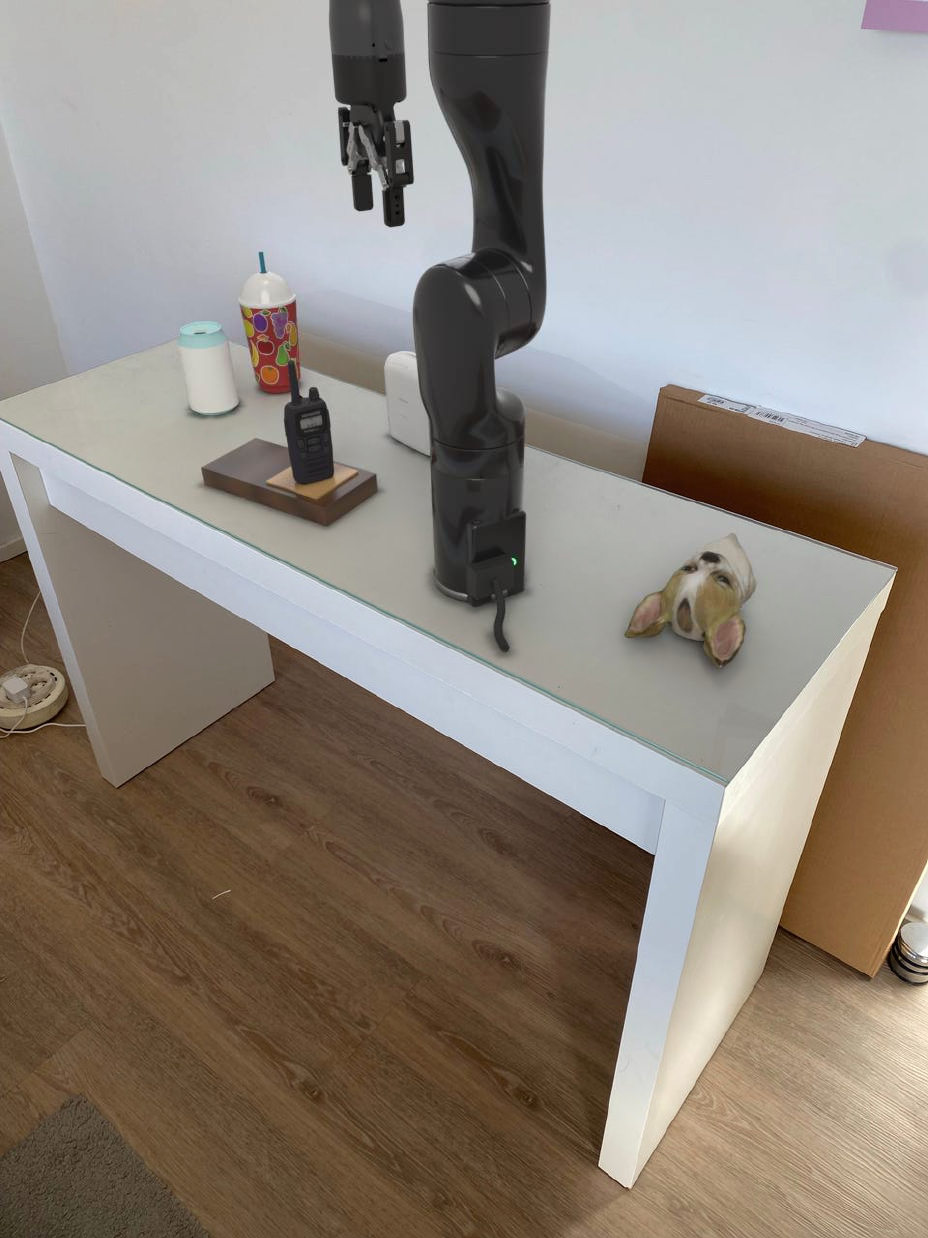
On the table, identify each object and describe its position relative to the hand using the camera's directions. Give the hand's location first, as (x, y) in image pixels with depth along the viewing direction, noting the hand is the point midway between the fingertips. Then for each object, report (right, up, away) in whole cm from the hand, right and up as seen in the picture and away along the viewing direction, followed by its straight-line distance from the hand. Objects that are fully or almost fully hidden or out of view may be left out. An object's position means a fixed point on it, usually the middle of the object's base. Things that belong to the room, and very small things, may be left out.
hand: (378, 217), depth 102 cm
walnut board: (-12, -29, +12) cm, 34 cm away
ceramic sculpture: (+33, -46, -13) cm, 58 cm away
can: (-27, -14, +33) cm, 45 cm away
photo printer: (+3, -21, +22) cm, 31 cm away
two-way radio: (-9, -28, +9) cm, 31 cm away
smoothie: (-19, -9, +39) cm, 44 cm away
